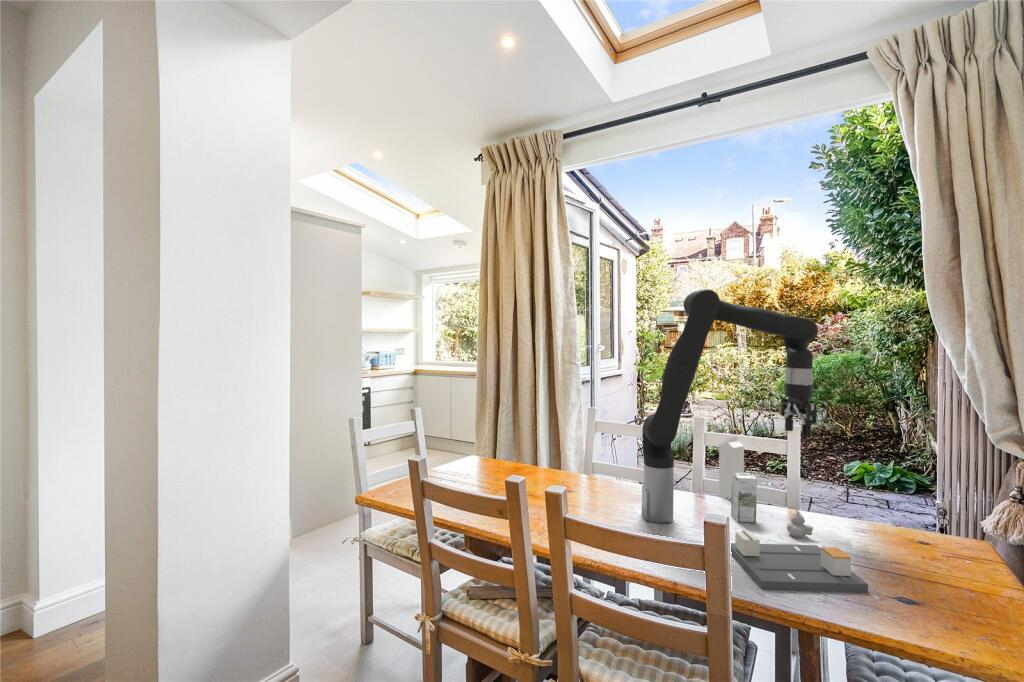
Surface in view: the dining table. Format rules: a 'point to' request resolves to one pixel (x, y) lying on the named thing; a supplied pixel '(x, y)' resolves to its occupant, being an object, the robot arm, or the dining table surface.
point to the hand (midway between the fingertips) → (797, 433)
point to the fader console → (794, 569)
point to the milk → (729, 464)
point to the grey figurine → (798, 526)
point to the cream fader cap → (747, 543)
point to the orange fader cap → (835, 561)
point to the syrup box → (744, 497)
